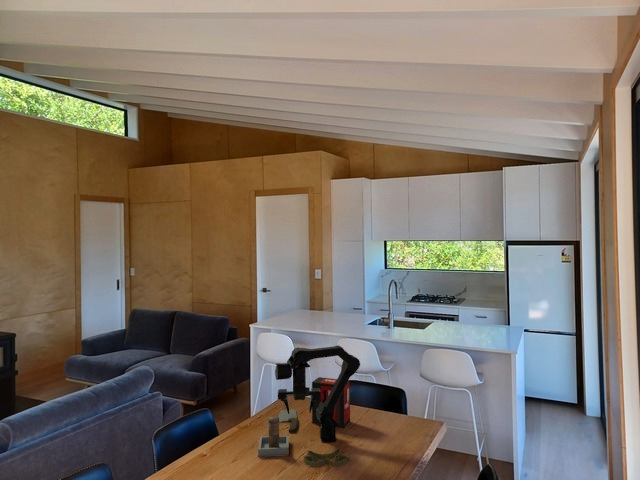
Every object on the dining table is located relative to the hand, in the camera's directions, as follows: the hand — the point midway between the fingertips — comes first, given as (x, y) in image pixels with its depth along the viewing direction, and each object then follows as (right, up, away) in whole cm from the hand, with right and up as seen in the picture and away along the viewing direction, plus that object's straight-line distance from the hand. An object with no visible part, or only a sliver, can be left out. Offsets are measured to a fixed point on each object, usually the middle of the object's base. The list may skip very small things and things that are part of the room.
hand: (299, 413), depth 195 cm
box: (-11, -13, -6) cm, 18 cm away
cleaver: (-6, -14, +25) cm, 30 cm away
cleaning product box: (+15, -14, +23) cm, 30 cm away
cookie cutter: (+12, -13, -15) cm, 23 cm away
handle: (-10, -12, -6) cm, 17 cm away
